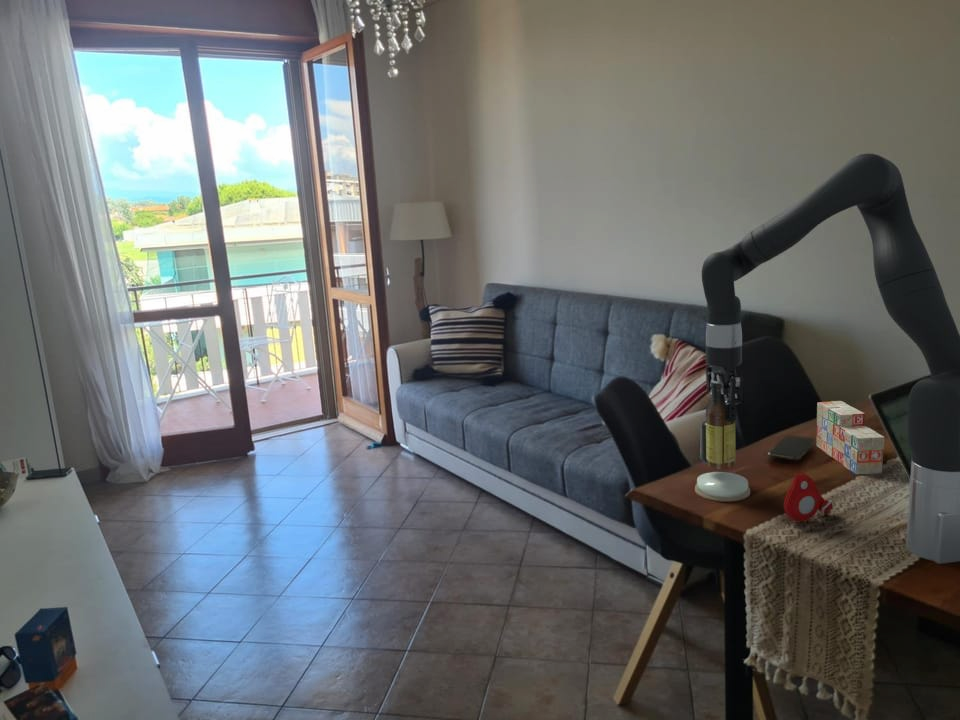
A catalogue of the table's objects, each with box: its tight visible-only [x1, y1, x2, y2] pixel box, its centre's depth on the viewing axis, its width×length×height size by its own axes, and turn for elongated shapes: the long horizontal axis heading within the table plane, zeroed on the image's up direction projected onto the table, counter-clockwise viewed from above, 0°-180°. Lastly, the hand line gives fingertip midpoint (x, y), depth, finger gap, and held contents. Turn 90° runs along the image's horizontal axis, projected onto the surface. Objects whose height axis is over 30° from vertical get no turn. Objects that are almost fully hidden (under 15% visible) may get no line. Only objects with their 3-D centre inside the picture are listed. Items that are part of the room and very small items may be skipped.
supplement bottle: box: [699, 414, 707, 464], centre depth 165 cm, size 7×7×12 cm
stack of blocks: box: [816, 400, 885, 476], centre depth 175 cm, size 21×6×12 cm, turn 179°
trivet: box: [694, 471, 751, 503], centre depth 162 cm, size 12×12×2 cm
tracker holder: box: [783, 472, 834, 522], centre depth 145 cm, size 12×4×10 cm, turn 105°
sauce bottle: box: [705, 380, 736, 471], centre depth 159 cm, size 7×6×20 cm
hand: (723, 416), depth 159 cm, fingers closed on sauce bottle, 6 cm apart
